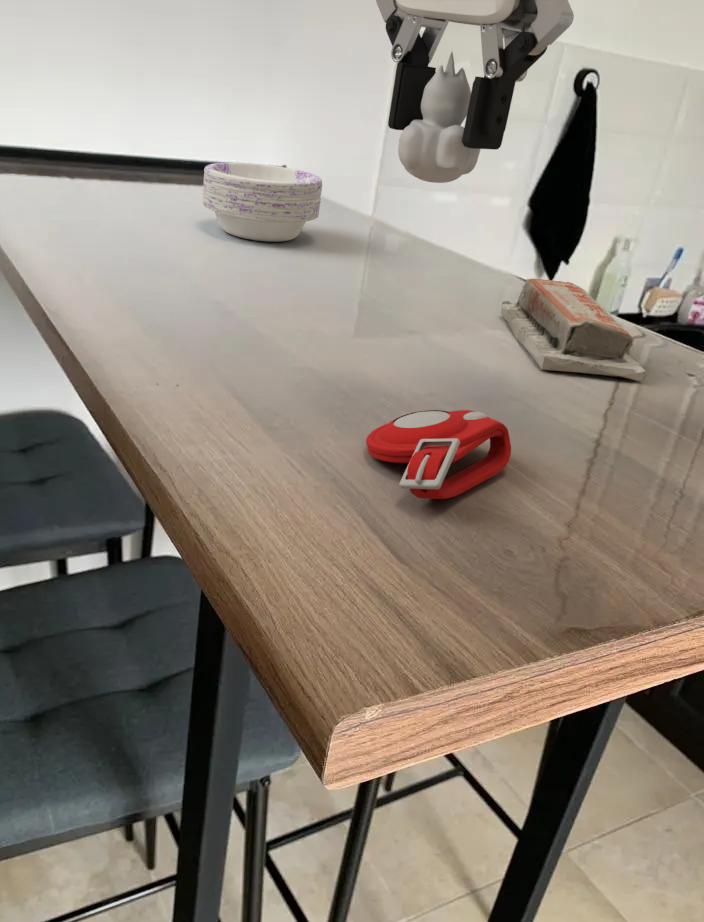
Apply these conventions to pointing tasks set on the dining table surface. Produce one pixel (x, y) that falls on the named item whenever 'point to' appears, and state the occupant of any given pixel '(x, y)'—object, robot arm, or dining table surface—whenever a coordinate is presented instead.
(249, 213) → the paper bowls
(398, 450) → the tracker holder
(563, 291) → the packaged product
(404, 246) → the dining table surface
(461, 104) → the white figurine
